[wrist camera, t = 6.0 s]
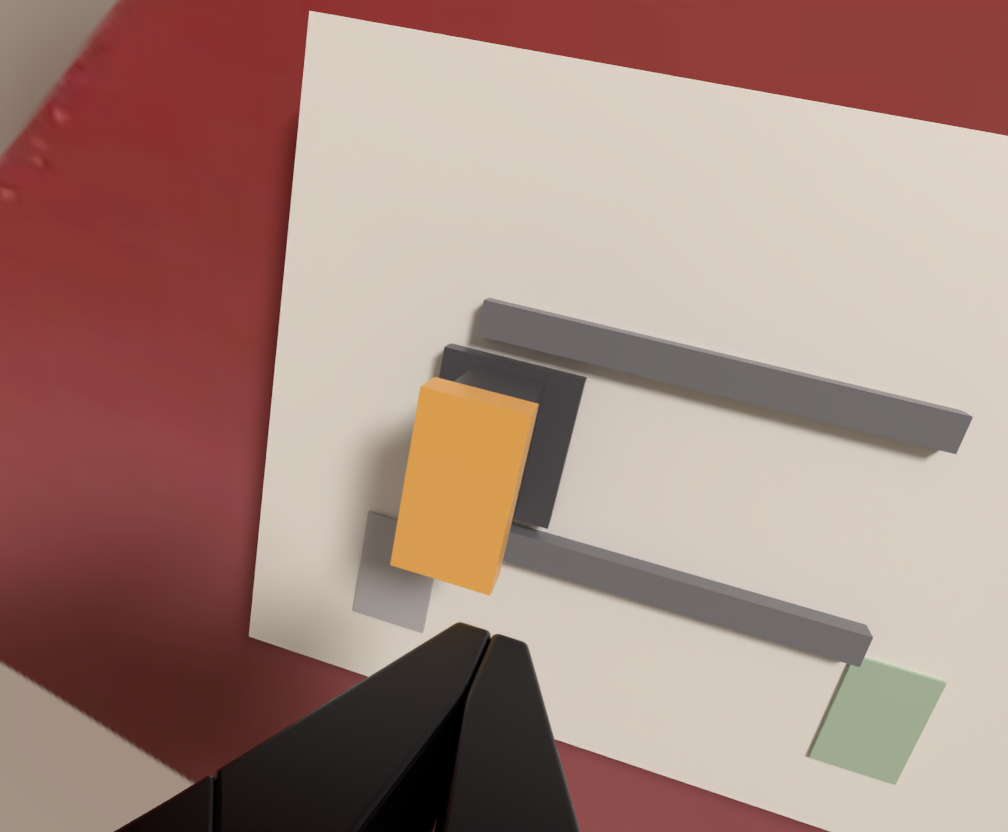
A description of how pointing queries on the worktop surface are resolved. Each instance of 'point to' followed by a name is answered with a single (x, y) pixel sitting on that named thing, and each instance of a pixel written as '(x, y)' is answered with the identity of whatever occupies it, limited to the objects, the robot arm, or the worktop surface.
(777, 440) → the breaker box
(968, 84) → the worktop surface
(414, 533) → the breaker toggle
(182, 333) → the worktop surface
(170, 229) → the worktop surface
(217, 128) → the worktop surface
